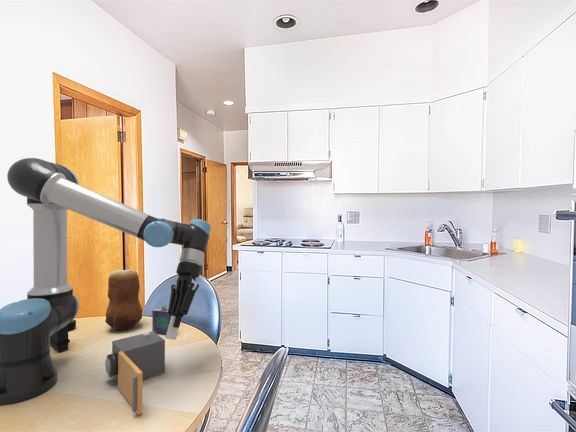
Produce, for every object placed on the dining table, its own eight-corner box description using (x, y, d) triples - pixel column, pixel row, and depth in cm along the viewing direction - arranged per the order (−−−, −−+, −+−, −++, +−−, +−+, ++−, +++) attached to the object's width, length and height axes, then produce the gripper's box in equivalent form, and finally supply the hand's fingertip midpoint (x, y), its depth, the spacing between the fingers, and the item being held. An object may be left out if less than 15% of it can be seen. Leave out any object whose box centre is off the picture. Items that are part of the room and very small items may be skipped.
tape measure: (66, 326, 132) (66, 318, 132) (80, 327, 131) (80, 319, 131) (51, 332, 126) (51, 323, 126) (65, 333, 125) (65, 324, 125)
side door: (114, 389, 85) (114, 352, 85) (121, 386, 86) (122, 350, 86) (134, 416, 73) (134, 375, 73) (142, 413, 75) (142, 372, 75)
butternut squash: (131, 320, 140) (131, 265, 140) (148, 326, 133) (148, 268, 132) (99, 329, 129) (99, 270, 128) (115, 337, 121) (115, 273, 121)
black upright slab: (59, 351, 105) (54, 307, 109) (50, 357, 113) (45, 316, 117) (72, 347, 108) (67, 305, 112) (62, 353, 115) (57, 313, 120)
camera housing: (111, 391, 84) (112, 351, 84) (102, 376, 92) (102, 340, 92) (164, 372, 94) (164, 337, 94) (152, 361, 102) (152, 328, 102)
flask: (150, 333, 125) (150, 305, 125) (155, 331, 128) (156, 303, 128) (172, 336, 123) (172, 307, 123) (176, 333, 126) (177, 305, 126)
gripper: (211, 265, 102) (193, 341, 92) (189, 269, 110) (170, 339, 100) (192, 258, 97) (170, 338, 87) (170, 262, 105) (148, 336, 95)
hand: (170, 338), depth 93 cm, fingers closed
